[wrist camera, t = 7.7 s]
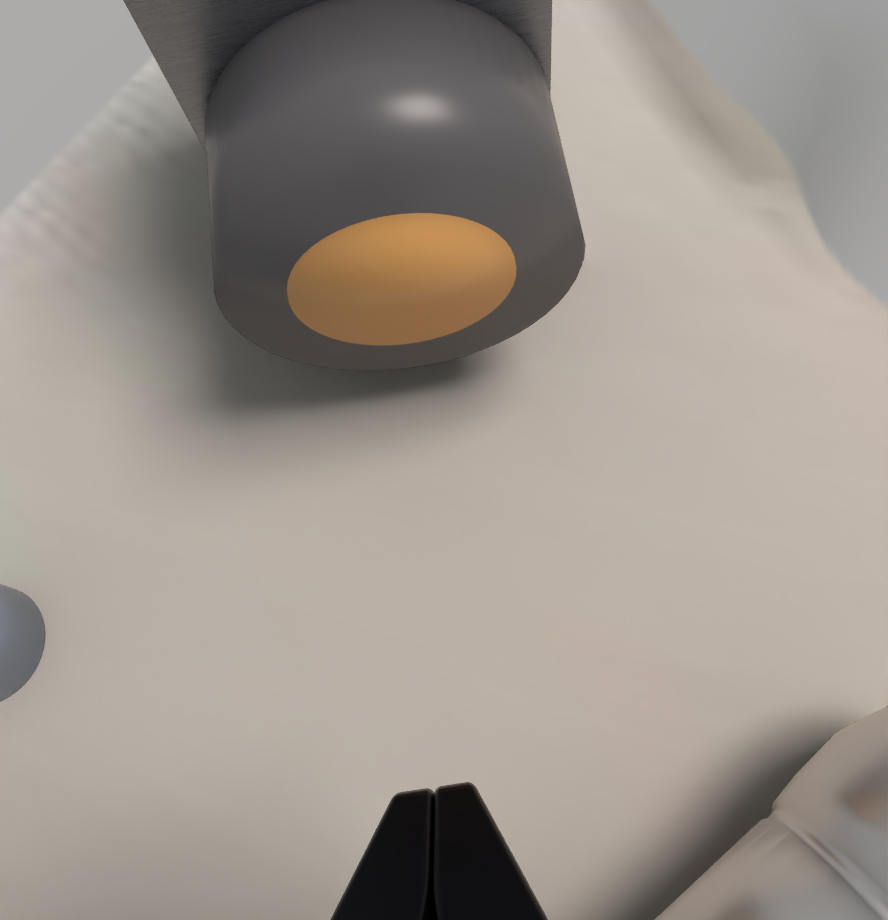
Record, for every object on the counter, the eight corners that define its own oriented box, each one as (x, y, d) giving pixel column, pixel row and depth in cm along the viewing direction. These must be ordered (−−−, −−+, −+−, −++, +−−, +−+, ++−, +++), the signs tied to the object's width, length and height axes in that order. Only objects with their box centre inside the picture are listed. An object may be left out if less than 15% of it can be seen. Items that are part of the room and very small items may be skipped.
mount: (584, 260, 25) (615, -87, 15) (255, 320, 26) (65, 23, 15) (535, 54, 28) (534, -359, 18) (239, 111, 28) (69, -259, 18)
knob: (577, 341, 22) (597, 126, 15) (276, 394, 23) (147, 211, 15) (495, -26, 27) (478, -334, 19) (246, 23, 27) (135, -260, 20)
